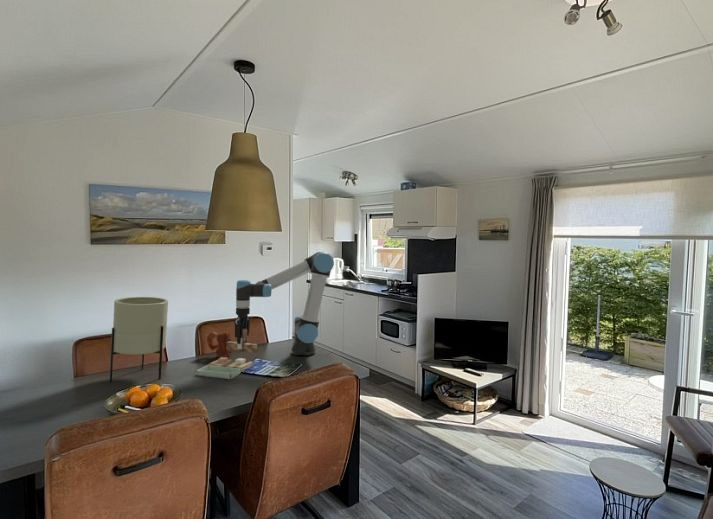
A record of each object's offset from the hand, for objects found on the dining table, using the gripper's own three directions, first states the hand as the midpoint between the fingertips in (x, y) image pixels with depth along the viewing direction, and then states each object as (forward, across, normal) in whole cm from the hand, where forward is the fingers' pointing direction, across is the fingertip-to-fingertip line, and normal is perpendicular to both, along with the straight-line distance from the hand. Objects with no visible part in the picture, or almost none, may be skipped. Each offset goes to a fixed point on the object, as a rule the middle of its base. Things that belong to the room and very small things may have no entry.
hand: (241, 348), depth 225 cm
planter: (+9, +38, -34) cm, 51 cm away
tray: (+8, +22, 0) cm, 24 cm away
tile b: (+5, +11, -5) cm, 13 cm away
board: (+8, +11, 0) cm, 14 cm away
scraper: (+1, 0, 0) cm, 1 cm away
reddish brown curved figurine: (+9, -6, -19) cm, 22 cm away
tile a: (+5, +10, +5) cm, 12 cm away
